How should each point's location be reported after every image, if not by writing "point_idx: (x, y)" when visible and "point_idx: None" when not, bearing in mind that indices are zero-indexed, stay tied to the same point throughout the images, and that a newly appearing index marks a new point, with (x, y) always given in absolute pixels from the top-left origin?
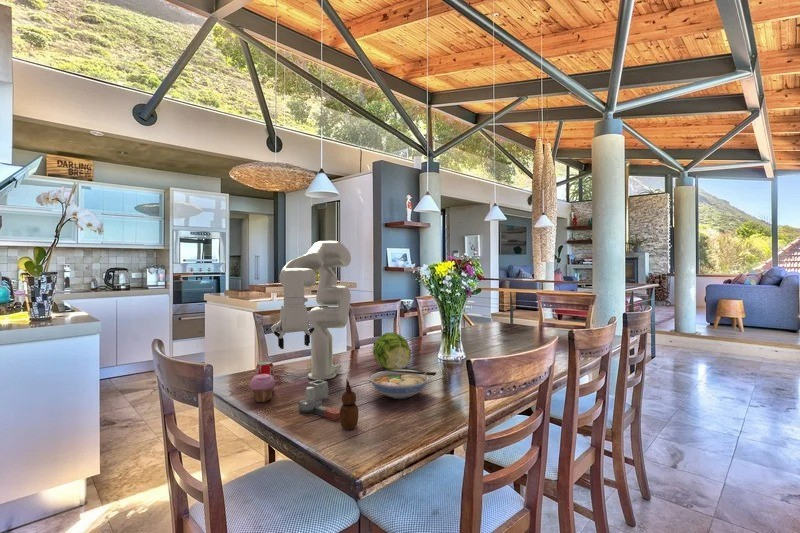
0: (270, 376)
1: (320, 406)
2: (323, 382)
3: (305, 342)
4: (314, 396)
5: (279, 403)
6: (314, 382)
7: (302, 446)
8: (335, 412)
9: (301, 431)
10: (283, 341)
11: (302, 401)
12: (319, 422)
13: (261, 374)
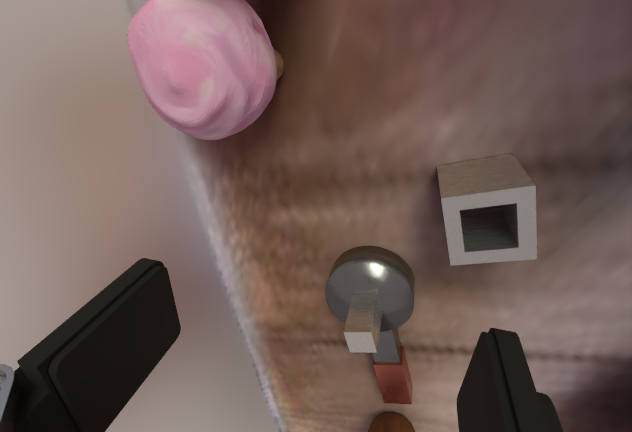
0: (225, 100)
1: (384, 335)
2: (509, 251)
3: (477, 394)
4: (379, 324)
5: (302, 146)
6: (478, 205)
7: (269, 408)
8: (391, 395)
9: (290, 366)
10: (122, 405)
11: (346, 278)
12: (348, 361)
13: (165, 67)
